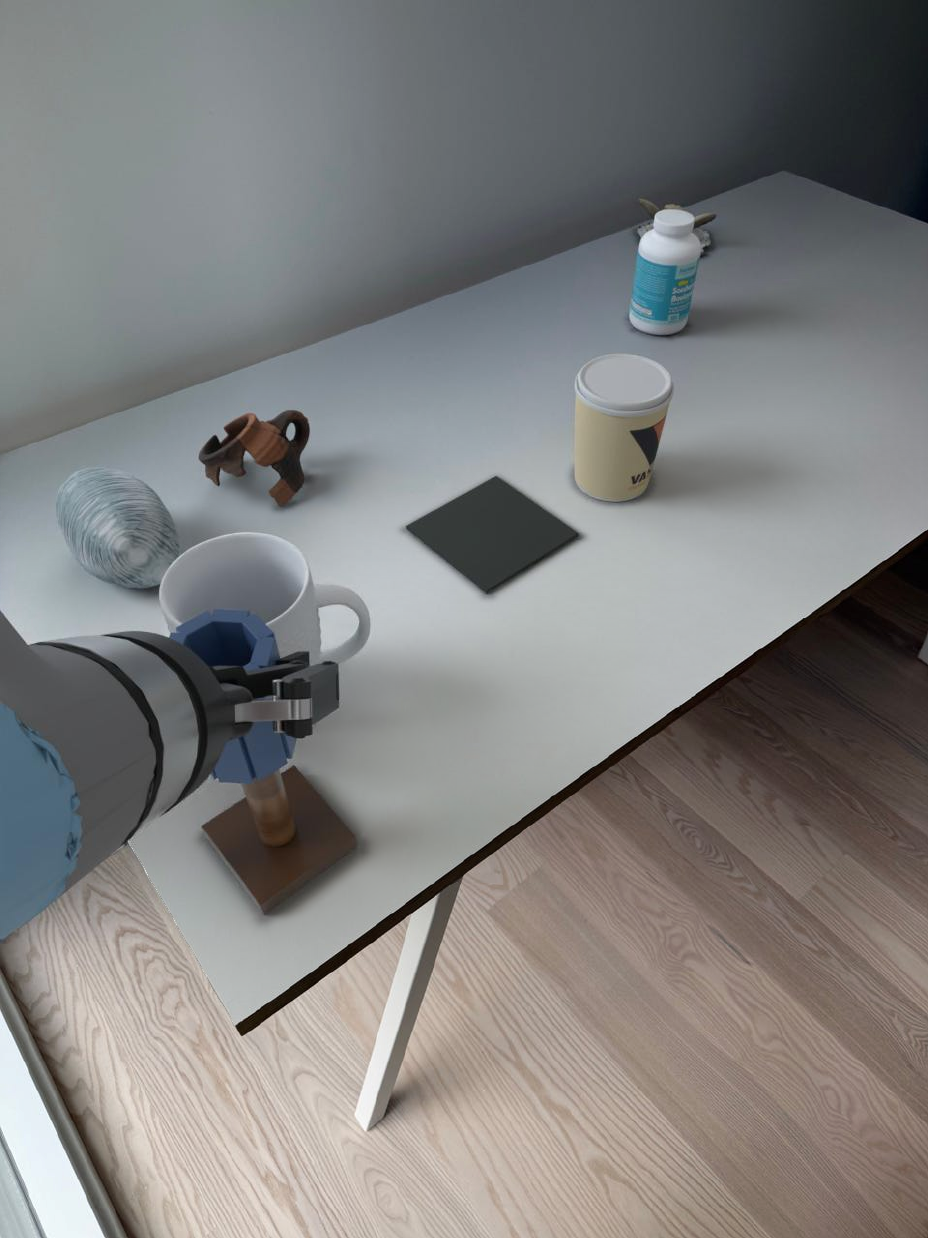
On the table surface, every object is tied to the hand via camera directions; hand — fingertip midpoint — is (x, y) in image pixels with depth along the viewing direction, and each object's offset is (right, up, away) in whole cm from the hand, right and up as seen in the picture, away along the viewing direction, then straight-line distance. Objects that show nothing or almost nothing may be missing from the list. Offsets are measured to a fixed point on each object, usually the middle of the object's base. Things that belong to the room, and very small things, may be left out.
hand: (249, 673), depth 57 cm
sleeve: (0, -4, -1) cm, 4 cm away
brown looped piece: (-7, +18, +37) cm, 42 cm away
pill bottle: (+39, +41, +58) cm, 81 cm away
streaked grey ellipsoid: (-19, +9, +29) cm, 36 cm away
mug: (-2, -3, +18) cm, 18 cm away
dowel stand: (0, -13, +8) cm, 15 cm away
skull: (+45, +59, +74) cm, 105 cm away
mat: (+16, +12, +31) cm, 37 cm away
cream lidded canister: (+29, +18, +37) cm, 50 cm away
